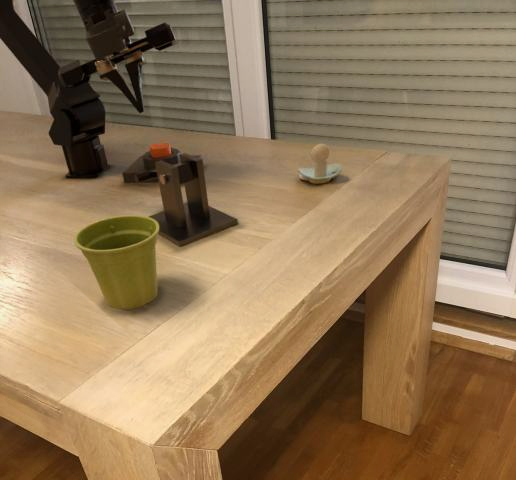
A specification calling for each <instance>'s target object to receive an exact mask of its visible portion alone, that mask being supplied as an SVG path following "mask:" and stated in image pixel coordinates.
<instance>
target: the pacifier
mask: <svg viewBox="0 0 516 480" xmlns="http://www.w3.org/2000/svg"><path fill="white" fill-rule="evenodd" d="M329 156H330V149H329V146H328V145H327V144H325V143H318V144H316V145H315V146H314V147H313V148H312V149H311V152H310V158H311V160H312V162H313V167H306V168H305V167H304V168H302V167H301V168H298V170H297V171H298V173H299V174H298V179H300V180H302V181H306V182H307V181H308V182H309V183H310V184H314V185H315V184H319V185H320V184H324V183H328V182H330V181H331V179H333V178H335V177H338V176H339V175H340V173H341V172H342V171H343V163H340V162H339V163H338V162H337V163H330V164H328V161H327V160H328V158H329Z"/></svg>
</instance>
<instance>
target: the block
mask: <svg viewBox="0 0 516 480" xmlns="http://www.w3.org/2000/svg"><path fill="white" fill-rule="evenodd" d="M170 148H171V154H172V155H169V156H167V157H162V158H153V157H151V153H150V150H149V151H146V152H144V153H143V154H142V155H140V156H139V157H137V159H136V160H135V161H134V162H132V163H131V164H130V165H129V166H128V167H127V168H126V169H125V170H124V171H123V172H121V174H122V179H123V183H124V184H138V183H137V182H136V181H135V178H134V175H135V174H139V173H142V172H145V171H148V170H151V169H155V168H156V165H155V162H157V161H160V160H161V161H164V162H166V163H169V164H171V165H175V164H178V163H181V160H180V154H181V151H180V150H179V149H177V148H173V147H170ZM191 155H192V156H195V157H197V158H200V159H202V161H203V159H204V158H203V155H201V154H198V155H197V154H196V155H195V154H191ZM203 162H204V161H203ZM140 184H159V181H158V178H154V179H150V180H147V181H144V182H141V183H140Z"/></svg>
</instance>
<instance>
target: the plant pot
mask: <svg viewBox="0 0 516 480" xmlns="http://www.w3.org/2000/svg"><path fill="white" fill-rule="evenodd" d="M158 232H159V224H158V222H157V221H156V220H154V219H152V218H150V217H149V216H145V215H138V214H126V215H123V214H122V215H115V216H110V217H106V218H102V219H99V220H97V221H94V222H91V223H89V224H86V225H85V226H83V227H81V228H80V229H79V230H78V231H77V232H76V233H74V236H73V243H74V245H75V246H76V248H77V249H79V250H80V251H81V253H82V255H83V257H84V258H85V259H86V260H87V262H88V264H89V266H90V268H91V271H92V273H93V275H94V278H95V280H96V281H97V284H98V286H99V289H100V291H101V293H102V296H103V298H104V300H105V301H106V304H107V305H108V306H110V307H112V308H113V309H117V310H132V309H133V310H134V309H137V308H140V307H144V306H146V305H147V304H148V303H151V302H153V301H154V300H155V299H156V297H157V295H158V292H159V291H158V274H157V273H158V272H157V255H156V253H157V251H156V245H157V241H158V239H157V238H158V237H157V236H158Z"/></svg>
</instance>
